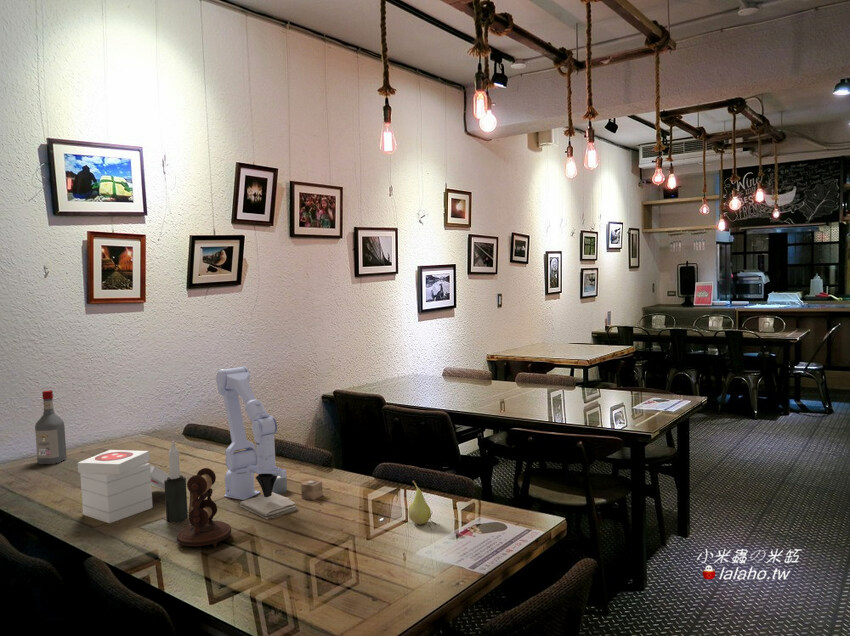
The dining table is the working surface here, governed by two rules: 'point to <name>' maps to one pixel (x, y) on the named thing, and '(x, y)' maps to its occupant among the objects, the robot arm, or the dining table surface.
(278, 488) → the slate cylinder
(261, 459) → the robot arm
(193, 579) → the dining table surface
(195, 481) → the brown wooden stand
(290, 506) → the washcloth
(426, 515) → the fruit
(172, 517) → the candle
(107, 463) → the pizza boxes
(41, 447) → the liquor
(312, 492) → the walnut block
